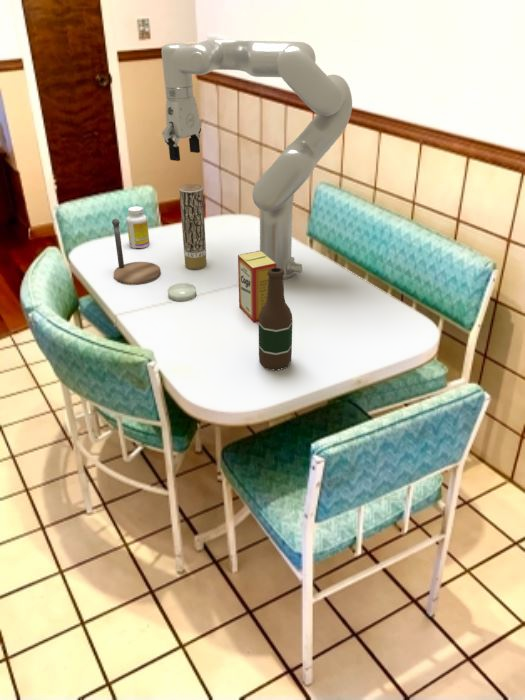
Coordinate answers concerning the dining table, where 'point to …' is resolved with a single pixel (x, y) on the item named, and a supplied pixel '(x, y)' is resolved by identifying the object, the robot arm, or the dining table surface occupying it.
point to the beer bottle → (275, 325)
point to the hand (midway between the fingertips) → (185, 156)
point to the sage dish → (182, 292)
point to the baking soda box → (253, 282)
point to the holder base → (132, 265)
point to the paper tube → (193, 225)
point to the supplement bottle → (137, 228)
